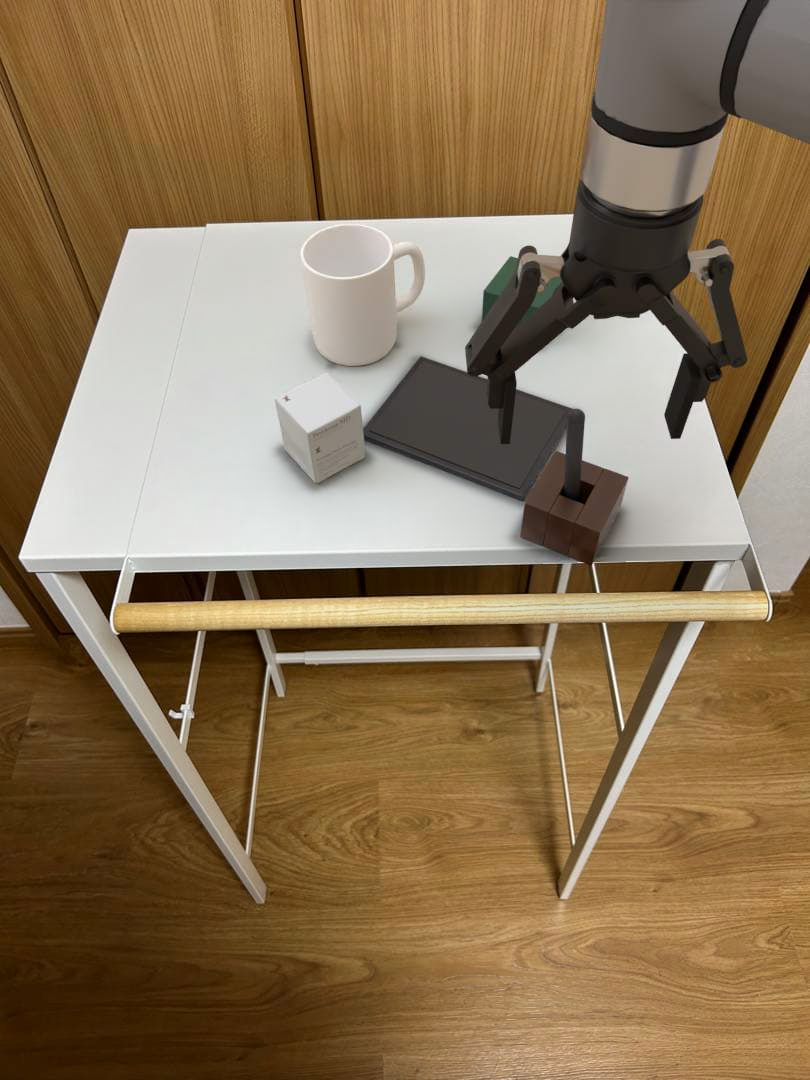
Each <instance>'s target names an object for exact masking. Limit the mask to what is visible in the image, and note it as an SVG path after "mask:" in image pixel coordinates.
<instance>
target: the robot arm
mask: <svg viewBox="0 0 810 1080" xmlns="http://www.w3.org/2000/svg"><path fill="white" fill-rule="evenodd" d="M604 14H605V15H604V20H603V27H602V35H601V41H600V48H599V55H598V63H597V69H596V70H597V71H596V75H595V76H596V78H595V84H594V88H593V92H592V99H591V107H590V111H589V118H588V124H587V129H586V135H585V141H584V147H583V154H582V157H581V158H582V159H581V165H580V180H579V182H578V186H577V189H576V196H575V203H574V209H573V215H572V223H571V229H570V235H569V241H568V244H567V246H566V248H565V249H564V251H563V252H562V253H561V255H547V254H538V250H537V248H536V247H535V246H534V245H529V244H528V245H525V246H523V247H522V248H521V249H520V250H519V252H518V255H517V258H518V260H517V264H516V268H515V273H514V275H513V276H512V278H511V279H510V281H509V282H508V284H507V285H506V287H505V288H504V290H503V291H502V293H501V294H500V296H499V297H498V299H497V300H496V302H495V303H494V305H493V306H492V308H491V309H490V311H489V312H488V314H487V315H486V317H485V318H484V320H483V321H482V320H481V323H480V324H479V325H478V327H477V328H476V330H475V331H474V333H473V334H472V336H471V337H470V339H469V340H468V342H467V344H466V345H465V347H464V351H465V363H466V364H465V365H466V372H467V373H468V374H469V375H470V376H474V377H475V376H479V377H480V376H481V375H484V376H485V377H487V379H488V381H487V398H488V405H489V407H490V409H499V410H498V427H499V436H500V444H510V438H511V430H512V421H513V412H514V403H515V395H516V389H517V384H518V383H517V377H516V372H517V371H518V370H520V368H522V367H523V366H524V365H525V364H526V363H528V362H529V361H530V360H532V358H533V357H535V356H536V355H537V354H538V353H539V352H540V351H542V350H543V349H544V348H546V346H548V345H549V344H551V342H552V341H554V340H555V339H556V338H557V337H559V336H560V335H561V334H562V333H563V332H565V331H566V330H567V329H572V330H573V329H575V328H576V327H577V326H579V325H580V324H581V323H582V322H583V321H584V320H586V319H587V318H588V317H590V316H593V319H594V320H606V319H611V318H614V317H620V318H624V319H625V318H626V319H639V318H640V317H641V315H642V314H646V313H647V312H649V311H650V312H651V313H652V314H653V316H654V317H655V318H656V320H657V321H658V322H659V323H660V324H661V326H663V327H664V326H665V327H666V329H667V330H668V331H669V333H670V334H671V335H672V336H673V337H674V339H675V340H676V341H677V342H678V343H679V345H680V346H681V347H682V348H683V350H684V351H685V352H686V353H683V354H682V357H681V361H680V364H679V367H678V370H677V373H676V376H675V379H674V383H673V385H672V389H671V392H670V395H669V398H668V401H667V405H666V407H665V410H664V414H663V416H664V420H665V424H666V427H667V430H668V433H669V436H670V440H680V439H681V438H682V435H683V432H684V430H685V427H686V423H687V421H688V419H689V415H690V413H691V410H692V408H693V404H694V403H702V402H703V401H704V400H705V399H706V398H707V395H708V392H709V390H710V387H711V384H712V383H717V382H718V381H720V380H721V379H722V378H723V371H722V369H721V368H725V367H727V366H731V368H734V369H738V368H741V367H743V366H745V365H746V364H747V362H748V355H747V351H746V348H745V344H744V341H743V337H742V332H741V329H740V325H739V321H738V317H737V313H736V308H735V304H734V302H733V301H734V300H733V298H732V293H731V290H730V289H731V284H732V279H733V275H734V270H735V264H734V262H733V259H732V257H731V254H730V251H729V250H728V247H727V245H726V243H725V241H724V240H723V239H721V238H715V239H712V240H711V241H710V242H709V243H708V244H707V245H706V246H705V247H706V248H704V249H700V250H699V249H698V250H690V248H691V245H692V242H693V239H694V235H695V232H696V229H697V226H698V225H697V224H698V221H699V218H700V215H701V211H702V207H703V204H704V194H705V193H706V191H707V189H708V187H709V184H710V182H711V177H712V175H713V170H714V166H715V162H716V159H717V157H718V153H719V148H720V144H721V142H722V141H721V140H722V137H723V134H724V130H725V127H726V124H727V121H728V117H729V115H731V116H734V117H736V118H738V119H743V120H746V121H748V122H752V123H754V124H757V125H759V126H762V127H765V128H767V129H769V130H772V131H775V132H777V133H780V134H782V135H785V136H786V137H787V136H788V137H790V138H792V139H795V140H797V141H800V142H802V143H805V144H807V145H810V0H606V4H605V12H604ZM689 250H690V251H689ZM690 273H691V274H694V275H695V277H696V280H697V282H698V283H699V284H700V285H701V284H702V285H704V287H706V290H707V295H708V298H709V301H710V305H711V308H712V312H713V315H714V319H715V322H716V323H715V324H716V326H717V330H718V334H719V337H720V341H717V342H713V343H712V342H711V340H710V339H709V338H708V337H707V335H706V334H705V332H703V330H702V329H701V327H700V326H699V324H697V322H696V320H695V319H694V318H693V317H692V315H691V314H690V313H689V312H688V310H687V309H686V308H685V306H684V305H683V304H682V302H681V301H680V300H679V298H678V297H677V296H676V295H675V293H674V292H673V291H674V289H675V288H677V287H678V286H679V285H680V284H681V283H682V282H683V281H685V280H686V279H687V277H688V276H689V274H690ZM556 277H560V278H561V280H562V282H561V283H560V284H559V285H558V286H557V287H556V288H555V290H554V291H553V294H552V296H551V297H550V298H549V299H548V300H547V301H546V302H545V303H544V304H543V305H541V306H540V307H539V308H538V309H537V310H536V311H535V312H534V313H532V314H531V315H530V316H529V317H528V318H527V319H526V320H524V321H523V322H522V323H521V324H520V325H519V326H518V327H517V328H515V327H516V326H517V324H518V323H519V321H520V320H521V319H522V317H523V316H524V314H525V313H526V312H527V310H528V309H529V307H530V306H531V304H532V303H533V301H534V299H535V296H536V293H537V292H539V293H541V292H543V291H544V290H545V287H546V286H547V284H548V283H549V281H550V280H552V279H553V278H556ZM574 300H575V302H574ZM514 328H515V329H514Z"/></svg>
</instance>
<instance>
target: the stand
mask: <svg viewBox="0 0 810 1080" xmlns="http://www.w3.org/2000/svg"><path fill="white" fill-rule="evenodd" d="M517 260H518V257H515V256H509V257H508V259H507V260H506V261H505V262H504V264H503V265H502V266H501V267H500V269H499V270H498V271H497V273H496V274H495V275H494V276H493V278H492V279H491V280H490V281H489V283H488V284H487V286H485V288H484V289H483V293H482V309H481V322H482V321H483V320H484V318H485V317H486V315H487V314H488V312H489V311H490V309H491V308H492V306H493V305H494V303H495V302H496V300H497V299H498V297H499V296H500V294H501V293H502V291H503V290H504V288H505V287H506V285H507V284H508V282H509V281H510V279H511V278H512V276H513V275H514V273H515V268H516V264H517ZM561 282H562V280H561V278H560V277H556V278H553V279H552V280H550V281H549V283H548V284H547V286H546V287H545V290H544V291H543V292H541V293H539V292H537V293H536V296H535V299H534V301H533V303H532V304H531V306H530V307H529V309H528V310H527V312H526V313H525V314H524V316H523V317H522V319H521V320H520V321H519V323H518V324H517V326H516V327H515V328H517V327H518V326H519V325H520V324H521V323H522V322H523V321H524V320H526V319H527V318H528V317H529V316H530V315H531V314H532V313H534V312H535V311H536V310H537V309H538V308H539V307H540V306H541V305H543V304H544V303H545V302H546V301H547V300H548V299H549V298H550V297H551V296H552V294H553V291H554V290H555V288H556V287H557V286H558V285H559V284H560V283H561ZM515 328H514V329H515Z"/></svg>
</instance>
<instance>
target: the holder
mask: <svg viewBox="0 0 810 1080" xmlns="http://www.w3.org/2000/svg"><path fill="white" fill-rule="evenodd" d="M565 455H566V453H564V452H561V451H559V450H555V451H554V452H553V455H552V456H551V458H550V459H549V461H548V463H547V464H546V466H545V467H544V470H543V471H542V473H541V474H540V477H538V479H537V481H536V482H535V485H534V487H533V488H532V490H531V492H529V495H528V497H526V500H525V502H524V505H523V512H522V520H521V527H520V534H519V537H520V538H522V539H524V540H526V541H529V542H532V543H534V544H536V545H539V546H542V547H544V548H546V549H549V550H552V551H554V552H555V553H559V554H561V555H564V556H566V557H568V558H571V559H574V560H576V561H577V562H581V563H583V564H586V565H588V566H590V567H592V566H593V564H594V562H595V560H596V558H597V556H598V554H599V553H600V550H601V549H602V547H603V544H604V543H605V540H606V538H607V537H608V535H609V532H610V530H611V529H612V526H613V525H614V523H615V521H616V519H617V518H618V515H619V513H620V510H621V507H622V502H623V499H624V496H625V492H626V488H627V486H628V482H629V478H630V477H629V476H628V475H624V474H621V473H618V472H616V471H613V470H611V469H607V468H605V467H602V466H599V465H597V464H593V463H591V462H589V461H586V460H583V459H582V468H581V482H580V497H579V502H577V501H574V500H572V499H569V498H566V497H564V476H565Z"/></svg>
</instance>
